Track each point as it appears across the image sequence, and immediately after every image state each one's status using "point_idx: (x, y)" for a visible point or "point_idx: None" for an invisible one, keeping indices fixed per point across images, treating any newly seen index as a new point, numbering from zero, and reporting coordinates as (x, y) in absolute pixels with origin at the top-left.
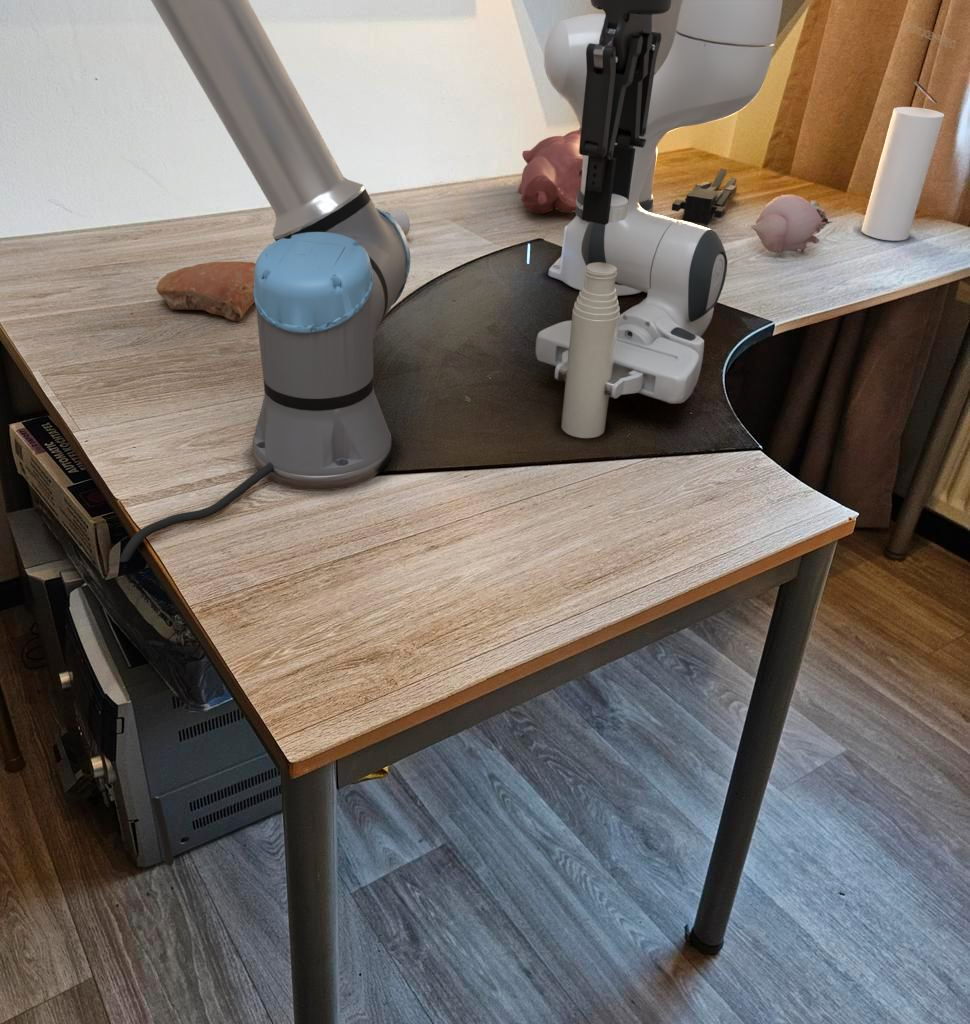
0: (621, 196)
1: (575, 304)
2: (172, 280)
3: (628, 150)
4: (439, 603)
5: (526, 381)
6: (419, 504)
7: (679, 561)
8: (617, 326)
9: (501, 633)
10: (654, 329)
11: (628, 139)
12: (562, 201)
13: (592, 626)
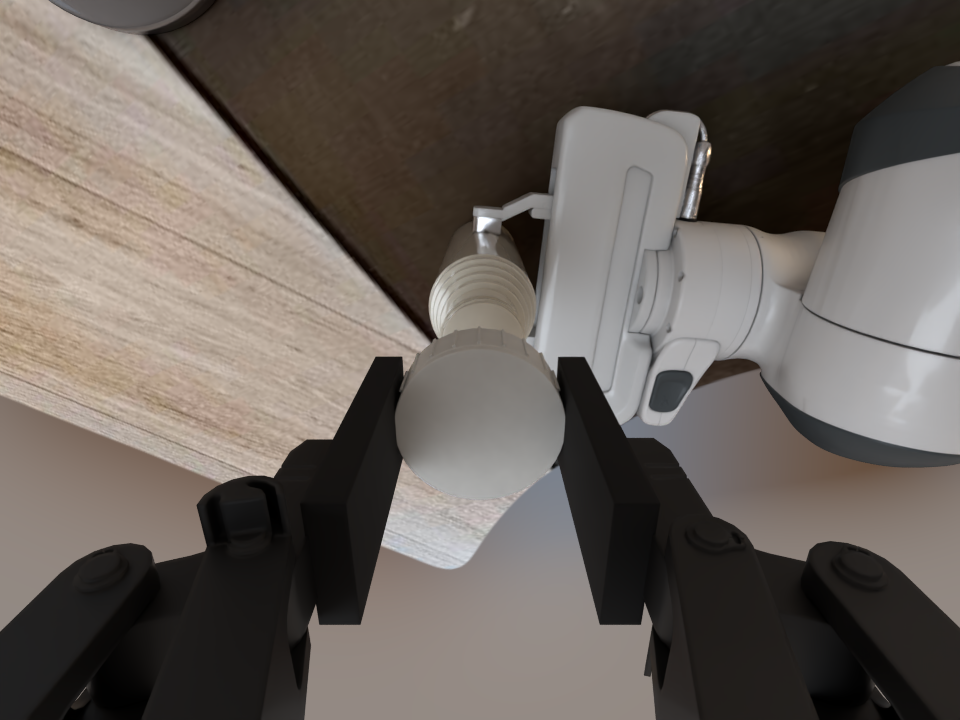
0: (550, 459)
1: (460, 267)
2: None
3: (598, 600)
4: (5, 287)
5: (590, 86)
6: (134, 146)
7: (267, 468)
8: None
9: (25, 367)
10: (662, 341)
11: (657, 625)
12: None
13: (108, 435)
